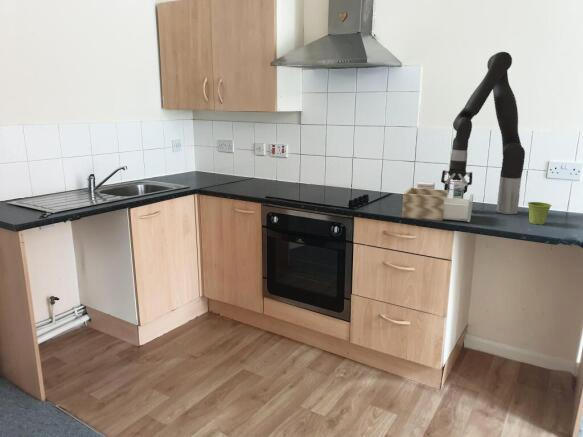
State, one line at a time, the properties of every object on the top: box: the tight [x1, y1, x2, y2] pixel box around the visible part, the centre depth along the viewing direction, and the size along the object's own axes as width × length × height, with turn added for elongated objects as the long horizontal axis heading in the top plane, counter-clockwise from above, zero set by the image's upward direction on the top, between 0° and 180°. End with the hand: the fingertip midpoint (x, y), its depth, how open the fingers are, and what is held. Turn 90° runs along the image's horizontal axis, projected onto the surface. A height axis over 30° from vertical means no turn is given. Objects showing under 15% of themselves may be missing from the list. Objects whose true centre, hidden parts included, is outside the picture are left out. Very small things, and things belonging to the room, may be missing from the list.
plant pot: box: [527, 201, 552, 226], centre depth 210 cm, size 9×9×9 cm
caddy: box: [401, 187, 448, 222], centre depth 223 cm, size 18×18×11 cm
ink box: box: [416, 181, 436, 190], centre depth 245 cm, size 8×5×12 cm, turn 69°
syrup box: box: [447, 180, 465, 199], centre depth 234 cm, size 6×6×14 cm
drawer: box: [443, 193, 474, 223], centre depth 219 cm, size 18×18×9 cm
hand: (455, 192), depth 233 cm, fingers open, 8 cm apart
